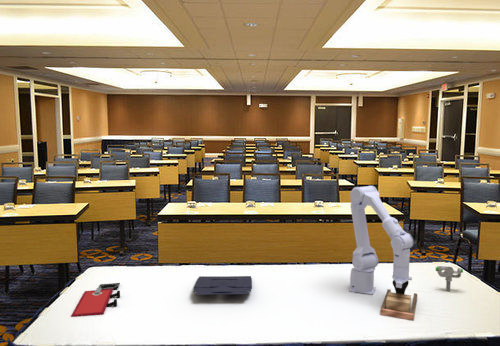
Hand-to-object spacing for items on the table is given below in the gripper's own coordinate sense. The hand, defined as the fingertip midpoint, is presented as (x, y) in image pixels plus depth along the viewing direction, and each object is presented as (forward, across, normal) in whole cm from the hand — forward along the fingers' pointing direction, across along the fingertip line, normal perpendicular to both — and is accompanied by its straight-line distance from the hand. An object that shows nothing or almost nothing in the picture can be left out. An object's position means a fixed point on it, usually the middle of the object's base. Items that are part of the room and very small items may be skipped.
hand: (399, 299), depth 162 cm
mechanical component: (+3, +24, -17) cm, 29 cm away
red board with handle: (+3, -43, +110) cm, 118 cm away
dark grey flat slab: (+3, -14, +70) cm, 71 cm away
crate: (+2, -5, 0) cm, 6 cm away
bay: (+2, 0, 0) cm, 2 cm away
